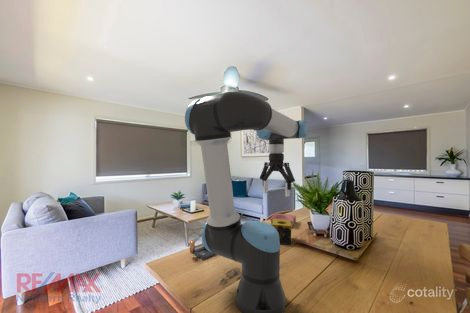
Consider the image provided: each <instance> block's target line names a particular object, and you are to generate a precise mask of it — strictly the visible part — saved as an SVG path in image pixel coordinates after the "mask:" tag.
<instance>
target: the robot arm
mask: <svg viewBox="0 0 470 313" xmlns="http://www.w3.org/2000/svg"><path fill="white" fill-rule="evenodd" d="M184 124H185V126H186V129H187V130H188V131H189V133H190V134H191V135H193V136H194V139H195V143H197V144H198V145H199V146H200V149H201V156H202V163H203V171H204V180H205V186H206V194H207V200H208V208H209V209H208V210H209V215H208V217H207V218H206V221H205V223H204V225H203V228H202V229H203V230H201V243H202V242H203V245H204V247H205V248H206V249H207V250H208V251H210V252H212V253H213V254H215V255H216V256H220V257H223V258H226V259H228V260H230V261H234V262H236V263H239V264H241V276H240V279H239V282H238V286H237V290H236V294H235V300H236V302H235V303H236V306H237V308H238V310H239V311H240V312H241V313H284V312H285V309H286V295H285V294H286V293H285V292H284V288H283V284H282V282H281V277H280V268H281V267H280V263H281V262H280V261H281V260H280V258H281V257H280V255H281V254H280V253H281V252H280V251H281V244H280V241H279V233H278V231H277V230H276V229H275V228H274V227H273V226H271V223H267V222H264V221H260V220H259V221H255V220H248V221H245V222H243V224H242V222H241V216H240V213H239V212H238V211H236V210H235V209H236V208H235V200H234V192H233V182H232V175H231V174H232V173H231V166H230V157H229V149H228V142H229V141H230V140H231V138H232V133H234V132H239V131H241V132H242V131H249V130H252V131H255V132H256V136H257V138H259V139H261V140H263V141H268V152H269V154H268V161H269V162H268V161H267V162H266V161H264V163H263V164H264V165H263V168H262V170H261V173H260V175H259V179H260V180H262V187H263V194H266V193H267V194H268V193H269V180H268V179H269V178H270V176H271V175H272V173H273V172H279V173H280V174H281V176H282V177H283V179H284V181H286V183H284V184H285V191H284V192H285V197H286V198H287V197H290V196H291V190H292V183H294V182H296V178H295V177H294V175H293V172H292V170H291V167H290V163H289V162H284V160H285V155H284V154H285V153H284V152H285V146H284V145H285V144H284V143H285V140H290V139H291V140H292V139H304V138H307V136H308V134H309V124H308V122H307V121H306V120H304V119H303V120H301V119H300V120H295V119H293V118H290V117H289V116H288V115H285V114H284V113H281V112H279V111H278V110H275V109H273V108H272V106H271V104H270V103H269V102H268V101H266V100H265V99H262V98H260V97H258V96H256V95H253V94H249V93H246V92H242V91H226V92H223V93H217V94H214V95H209V96H203V97H200V98H198V99H196V100H193V101H192V102H190V104H189V105H188V106H187V108H186V110H185V112H184Z"/></svg>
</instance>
